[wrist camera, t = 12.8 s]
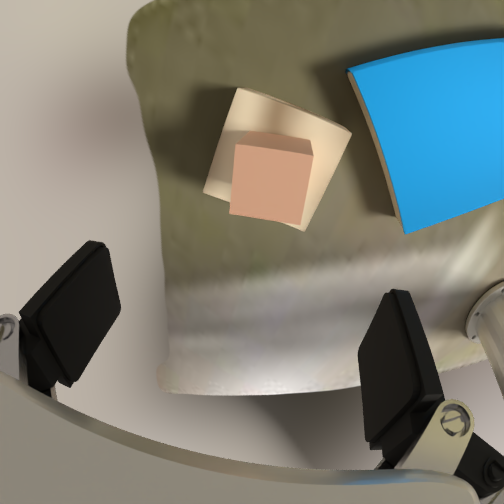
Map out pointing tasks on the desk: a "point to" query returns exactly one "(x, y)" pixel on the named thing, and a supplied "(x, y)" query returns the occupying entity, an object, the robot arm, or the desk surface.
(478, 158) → the book
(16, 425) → the robot arm
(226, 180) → the base
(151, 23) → the desk surface
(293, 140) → the block
